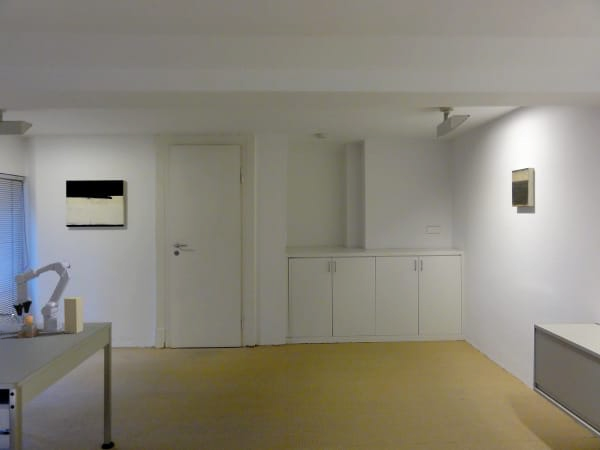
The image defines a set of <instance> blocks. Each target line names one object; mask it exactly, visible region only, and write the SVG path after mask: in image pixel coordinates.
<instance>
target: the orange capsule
mask: <svg viewBox="0 0 600 450" xmlns="http://www.w3.org/2000/svg"><path fill="white" fill-rule="evenodd" d="M23 319H24V320H23V322H24V325H25V326H29V325H33V323H34V316H33V315H26V316H24V317H23Z"/></svg>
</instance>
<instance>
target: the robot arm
mask: <svg viewBox="0 0 600 450" xmlns="http://www.w3.org/2000/svg"><path fill="white" fill-rule="evenodd" d="M71 269H72V266H71V264H70V262H69V261H67V260H62V261H57V262H54V263H53V262H52V263H50V264H47V265H44V266H42V267H41V268H39V269H37V268H30V269H29V270H27V271H23V272H22V273H18V274H17V275H15V276H14V282H15V283H16V298H17V299H15V301H14V304H13V305H12V306H13V308H14V310H15V311H16V314H17V317H22V316H23V312H24V314H29V312H30V309H31V305H32V303H33V301H32V300H31V297H29V291H28V289H29V287H28V283H29V281H31V280H34V279H36V278H39V276H40V275H41V274H44V273H46V272H50V271H54V272H56V273H57V275H59V276H58V277H60V278H59V280H58V282H57V284H56V286H55V289H54V290H53V293H52V295H51V296H50V298H49V300H48V301H47V302H46V304H45V305H44V307H42V308H41V310H40V313H41V315H42V316H43V317H42V319H43V329H41V330H40V331H41V332H52V331H53V332H54V331H58V330H60V329H63V326H62V323H63V322H62V316H61V315H59V314H57V312H58V311H59V305H60V302H59V301H60V300H61V298H62V296H63V294H64V292H65V290H66V288H67V286H68V284H69V282H70V280H71V277H72V272H71Z"/></svg>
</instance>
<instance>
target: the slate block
mask: <svg viewBox="0 0 600 450" xmlns="http://www.w3.org/2000/svg"><path fill="white" fill-rule="evenodd" d="M20 327H21V329H20V330H21V331H20V332H32V331H34V330H36V329H38V323H37V322H36V323H34V322H33V325H29V326H25V324H24V325H22V326H20Z"/></svg>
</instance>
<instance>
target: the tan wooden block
mask: <svg viewBox="0 0 600 450" xmlns="http://www.w3.org/2000/svg"><path fill="white" fill-rule="evenodd" d="M63 303H64V304H63V305H64V306H63V307H64V308H63V309H64V311H63V312H64V333H65V334H78V333H80V332H83V331H84V315H83V313H84V312H83V310H84V309H83V297H82V296H69V297H66V298H64V301H63Z"/></svg>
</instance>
